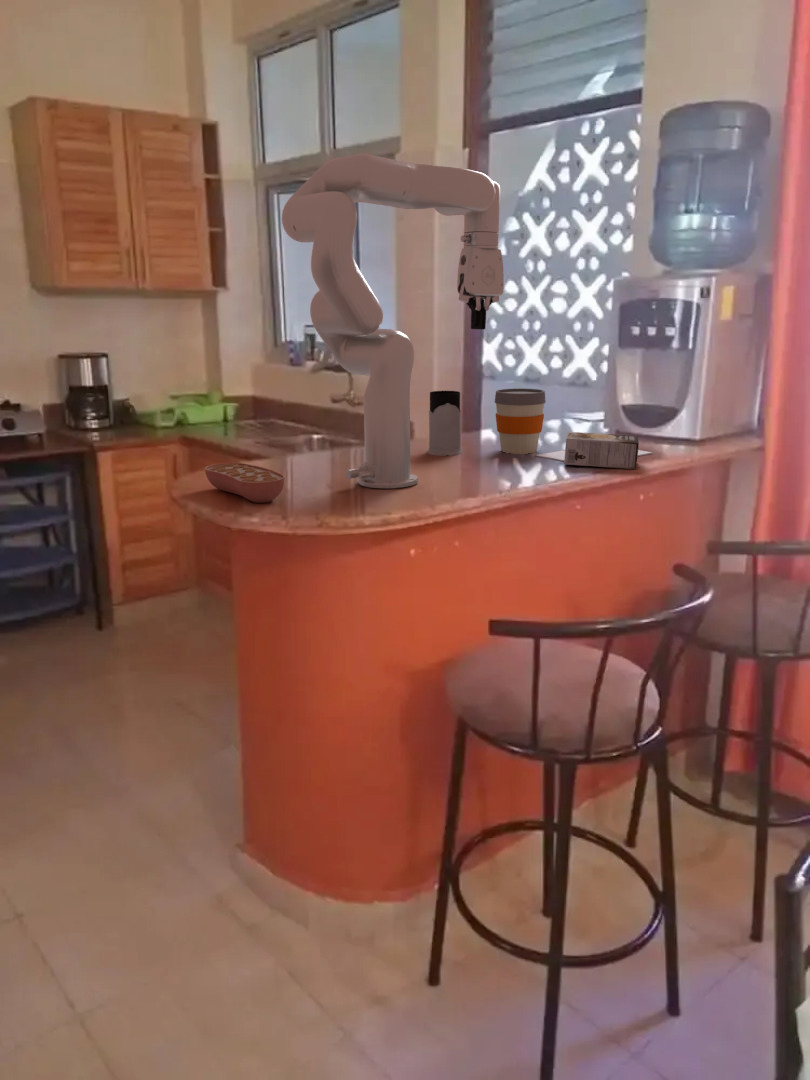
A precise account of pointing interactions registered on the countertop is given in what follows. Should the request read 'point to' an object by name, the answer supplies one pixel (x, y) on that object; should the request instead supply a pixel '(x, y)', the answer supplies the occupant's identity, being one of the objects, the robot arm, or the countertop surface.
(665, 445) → the countertop surface
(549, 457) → the mat
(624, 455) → the coffee box
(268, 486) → the brown oblong piece
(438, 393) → the glass holder
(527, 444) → the reusable coffee cup
